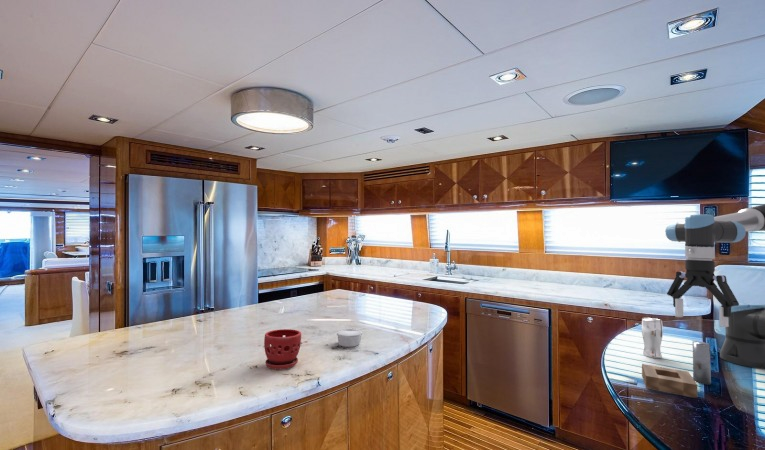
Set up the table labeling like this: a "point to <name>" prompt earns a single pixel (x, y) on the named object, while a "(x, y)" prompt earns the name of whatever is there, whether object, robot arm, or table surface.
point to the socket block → (669, 380)
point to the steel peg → (701, 362)
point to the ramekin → (349, 337)
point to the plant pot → (282, 348)
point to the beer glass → (652, 337)
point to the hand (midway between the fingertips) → (700, 321)
